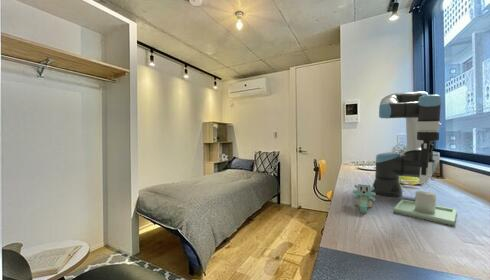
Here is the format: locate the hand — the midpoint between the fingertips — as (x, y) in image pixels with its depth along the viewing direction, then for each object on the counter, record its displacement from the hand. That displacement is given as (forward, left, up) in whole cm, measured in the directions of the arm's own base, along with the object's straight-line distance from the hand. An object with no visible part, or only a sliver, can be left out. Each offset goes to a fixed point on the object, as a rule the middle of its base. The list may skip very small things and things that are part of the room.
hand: (425, 179), depth 99 cm
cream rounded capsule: (0, 0, -14) cm, 14 cm away
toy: (-21, -14, -16) cm, 29 cm away
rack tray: (0, -1, -15) cm, 15 cm away
